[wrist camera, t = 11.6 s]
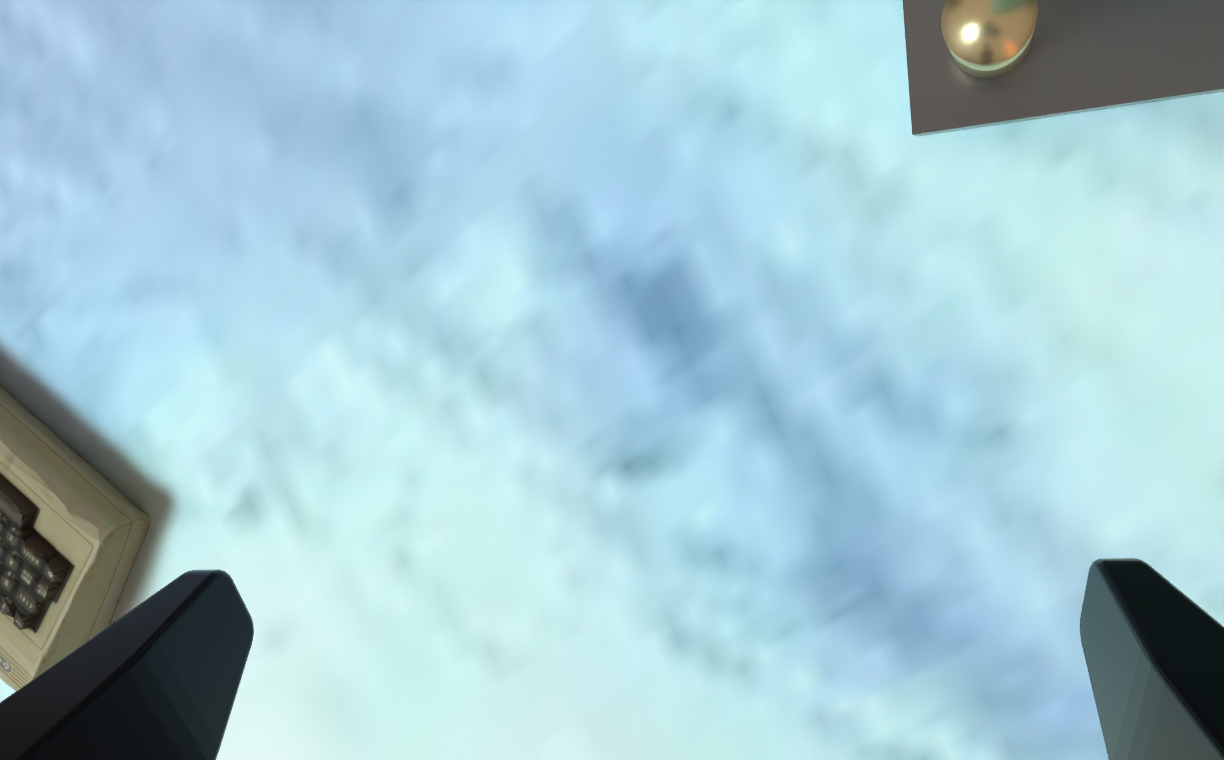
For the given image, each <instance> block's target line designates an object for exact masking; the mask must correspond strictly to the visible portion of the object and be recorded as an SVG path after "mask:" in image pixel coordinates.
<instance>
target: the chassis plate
mask: <svg viewBox="0 0 1224 760" xmlns="http://www.w3.org/2000/svg"><path fill="white" fill-rule="evenodd" d="M903 10H904V24H905V38H906V52H907V66H908V80H909V94H910V108H911V122H912V135H915V136H923V135H930V134H937V133H943V132H950V131H957V130H964V129H971V128H977V127H984V126H991V125H998V124H1005V123H1011V122H1018V121H1025V120H1032V119H1039V118H1045V117H1052V116H1059V115H1066V114H1073V113H1079V112H1086V111H1093V110H1100V109H1107V108H1113V107H1120V106H1127V105H1134V104H1141V103H1147V102H1154V101H1161V100H1168V99H1175V98H1181V97H1188V96H1195V95H1202V94H1209V93H1215V92H1222V91H1224V0H903Z"/></svg>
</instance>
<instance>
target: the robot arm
mask: <svg viewBox="0 0 1224 760" xmlns="http://www.w3.org/2000/svg"><path fill="white" fill-rule="evenodd" d="M253 634H254V629H253V622H252V618H251V616H250V614H249V612H248V610H247V608H246V606H245V604H244V602H243V600H242V598H241V596H240V594H239V592H238V590H237V588H236V586H235V584H234V582H233V580H232V578H231V577H230V575H229V574H227V573H226V572H225V571H222V570H192V571H188V572H186V573H184V574H182V575H181V576H179V577H178V578H177V579H175V580H174V581H172V582H171V583H169V584H168V585H167V586H165V587H164V588H162V589H161V590H160V591H158V592H157V593H155V594H154V595H152V596H151V597H150V598H148V599H147V600H145V601H144V602H143V603H141V604H140V605H138V606H137V607H135V608H134V609H133V610H131V611H130V612H128V613H127V614H125V615H124V616H123V617H121V618H120V619H118V620H117V621H116V622H114V623H113V624H111V625H110V626H108V627H107V628H106V629H104V630H103V631H101V632H100V633H98V634H97V635H96V636H94V637H93V638H91V639H90V640H89V641H87V642H86V643H84V644H83V645H81V646H80V647H79V648H77V649H76V650H74V651H73V652H72V653H70V654H69V655H67V656H66V657H64V658H63V659H62V660H60V661H59V662H57V663H56V664H54V665H53V666H52V667H50V668H49V669H47V670H46V671H45V672H43V673H42V674H40V675H39V676H37V677H36V678H35V679H33V680H32V681H30V682H29V683H27V684H26V685H25V686H23V687H22V688H20V689H19V690H18V691H16V692H15V693H13V694H12V695H10V696H9V697H8V698H6V699H5V700H3V701H2V702H0V760H216V757H217V754H218V752H219V749H220V746H221V742H222V739H223V736H224V733H225V729H226V726H227V723H228V720H229V716H230V713H231V710H232V707H233V703H234V700H235V697H236V694H237V690H238V687H239V684H240V681H241V677H242V674H243V671H244V668H245V664H246V661H247V658H248V655H249V651H250V648H251V645H252V641H253ZM1080 635H1081V642H1082V647H1083V651H1084V655H1085V659H1086V664H1087V668H1088V672H1089V677H1090V681H1091V685H1092V689H1093V694H1094V698H1095V702H1096V706H1097V711H1098V715H1099V719H1100V724H1101V728H1102V732H1103V736H1104V741H1105V745H1106V749H1107V753H1108V758H1109V760H1224V627H1223V626H1222V625H1221V624H1220V623H1218V622H1217V621H1216V620H1215V619H1214V618H1212V617H1211V616H1210V615H1209V614H1208V613H1206V612H1205V611H1204V610H1203V609H1202V608H1200V607H1199V606H1198V605H1197V604H1196V603H1194V602H1193V601H1192V600H1191V599H1190V598H1188V597H1187V596H1186V595H1185V594H1183V593H1182V592H1181V591H1180V590H1179V589H1177V588H1176V587H1175V586H1174V585H1173V584H1171V583H1170V582H1169V581H1168V580H1167V579H1165V578H1164V577H1163V576H1162V575H1161V574H1159V573H1158V572H1157V571H1156V570H1155V569H1153V568H1152V567H1151V566H1150V565H1148V564H1147V563H1146V562H1144V561H1142V560H1139V559H1134V558H1128V559H1098V560H1096V561H1094V562H1093V563H1092V565H1091V567H1090V569H1089V574H1088V579H1087V584H1086V590H1085V595H1084V601H1083V606H1082V612H1081V618H1080Z"/></svg>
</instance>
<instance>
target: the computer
mask: <svg viewBox="0 0 1224 760" xmlns="http://www.w3.org/2000/svg"><path fill="white" fill-rule="evenodd" d="M149 518H150V517H149V516H148V515H147V514H146V513H144V512H143V511H141V510H140V509H138V508H137V507H136V506H134V505H133V504H132V503H131V502H130V501H129V500H128V499H127V498H126V497H125V496H124V495H123V494H122V493H121V492H120V491H119V490H118V489H116V488H115V487H114V486H113V485H112V484H111V483H110V482H109V481H107V480H106V479H105V478H104V477H103V476H102V475H101V474H100V473H99V472H98V471H97V470H96V469H95V468H93V467H92V466H91V465H90V464H89V463H88V462H86V461H85V460H84V459H83V458H82V457H81V456H79V455H78V454H77V453H76V452H75V451H73V450H72V449H71V448H70V447H69V446H67V445H66V444H65V443H64V442H63V441H61V440H60V439H59V438H58V436H57V435H56V434H55V433H54V432H53V431H52V430H50V429H49V428H48V427H47V426H46V425H45V424H44V423H42V422H41V421H40V420H39V419H38V418H36V417H35V416H34V415H33V414H31V413H30V412H29V411H27V410H26V409H25V408H24V407H23V406H22V405H21V404H20V403H19V402H18V401H17V400H16V399H15V398H14V397H13V396H12V395H10V394H9V393H8V392H7V391H6V390H5V389H3V388H2V387H1V386H0V678H1V679H2V680H3V681H4V682H5V683H6V684H7V685H9V686H10V687H12V688H13V689H14V690H16V691H18V690H19V689H20V688H22V687H23V686H25V685H26V684H27V683H29V682H30V681H32V680H33V679H35V678H36V677H37V676H39V675H40V674H42V673H43V672H45V671H46V670H47V669H49V668H50V667H52V666H53V665H54V664H56V663H57V662H59V661H60V660H62V659H63V658H64V657H66V656H67V655H69V654H70V653H72V652H73V651H74V650H76V649H77V648H79V647H80V646H81V645H83V644H84V643H86V642H87V641H89V640H90V639H91V638H93V637H94V636H96V635H97V634H98V633H100V632H101V631H103V630H104V629H106V628H107V627H108V626H109V625H110V622H111V620H112V617H113V614H114V612H115V609H116V606H117V604H118V601H119V598H120V596H121V593H122V591H123V588H124V585H125V583H126V580H127V578H128V576H129V573H130V571H131V569H132V566H133V564H134V561H135V559H136V556H137V554H138V551H139V549H140V546H141V544H142V542H143V540H144V538H145V535H146V533H147V530H148V527H149Z"/></svg>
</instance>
